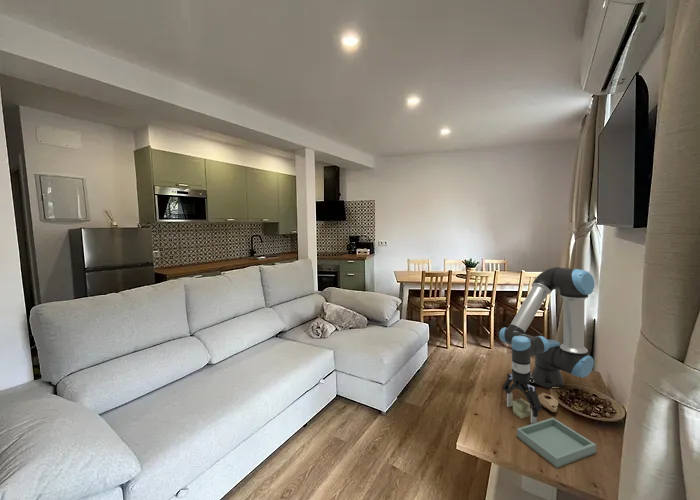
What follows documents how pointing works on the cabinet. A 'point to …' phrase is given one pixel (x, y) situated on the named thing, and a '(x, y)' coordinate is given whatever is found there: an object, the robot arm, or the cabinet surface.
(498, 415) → the cabinet surface
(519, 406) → the olive block
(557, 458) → the bin
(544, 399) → the pottery oil lamp
